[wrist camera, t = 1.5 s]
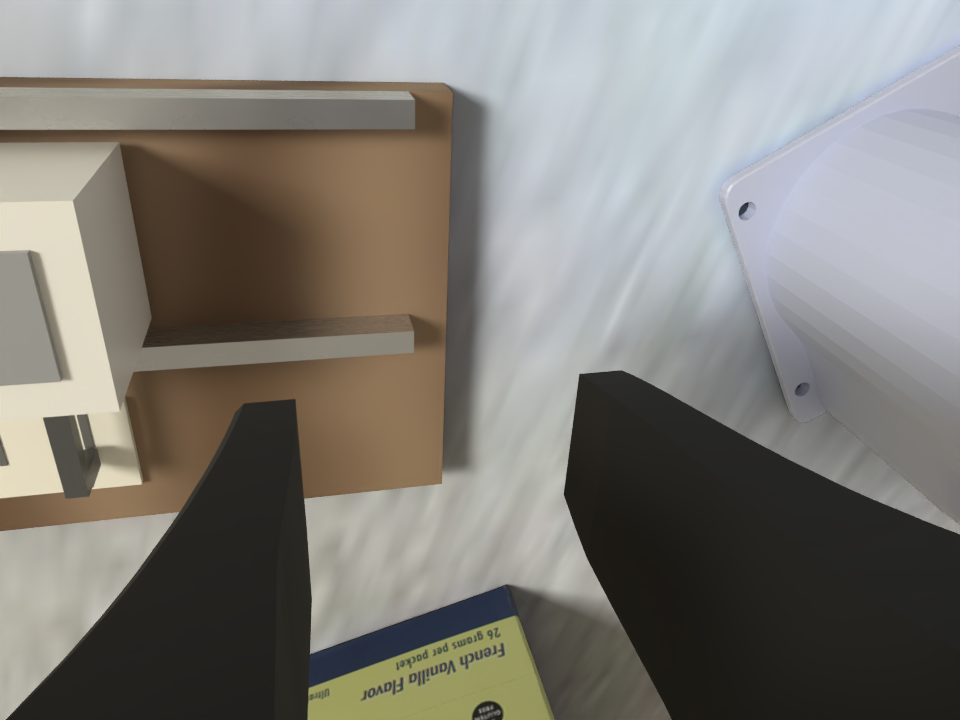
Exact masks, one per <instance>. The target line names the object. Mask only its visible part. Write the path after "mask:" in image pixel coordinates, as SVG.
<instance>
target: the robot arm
mask: <svg viewBox="0 0 960 720" xmlns="http://www.w3.org/2000/svg"><path fill="white" fill-rule="evenodd" d="M719 197H720V203H721V206H722V209H723V212H724V215H725V218H726V221H727V224H728V227H729V230H730V233H731V237H732V240H733V243H734V246H735V249H736V252H737V255H738V258H739V261H740V264H741V267H742V270H743V273H744V276H745V279H746V282H747V285H748V288H749V291H750V294H751V297H752V300H753V303H754V306H755V309H756V312H757V316H758V319H759V322H760V325H761V328H762V331H763V334H764V337H765V340H766V343H767V346H768V349H769V352H770V355H771V358H772V361H773V364H774V367H775V370H776V373H777V376H778V379H779V382H780V385H781V388H782V392H783V395H784V398H785V401H786V404H787V407H788V410H789V413H790V414H791V416H792V417H794V418H795V419H796V420H797V421H799V422H808V421H810V420H812V419H814V418H816V417H818V416H820V415H821V414H823V413H825V412H827V411H828V412H829V413H830V414H831V415H832V416H833V417H834V418H836V419H837V420H838V421H839V422H840V423H841V424H842V425H844V426H845V427H846V428H847V429H848V430H849V431H850V432H852V433H853V434H854V435H855V436H856V437H857V438H858V439H860V440H861V441H862V442H863V443H864V444H865V445H867V446H868V447H869V448H870V449H871V450H872V451H873V452H875V453H876V454H877V455H878V456H879V457H880V458H881V459H883V460H884V461H885V462H886V463H887V464H888V465H889V466H891V467H892V468H893V469H894V470H895V471H896V472H897V473H899V474H900V475H901V476H902V477H903V478H904V479H906V480H907V481H908V482H909V483H910V484H911V485H912V486H914V487H915V488H916V489H917V490H918V491H919V492H920V493H922V494H923V495H924V496H925V497H926V498H927V499H928V500H930V501H931V502H932V503H933V504H934V505H935V506H936V507H938V508H939V509H940V510H941V511H942V512H943V513H944V514H946V515H947V516H948V517H950V518H951V519H952V520H954V521H955V522H957V523H958V524H960V45H959V46H957V47H955V48H954V49H952V50H950V51H948V52H947V53H945V54H943V55H942V56H940V57H938V58H936V59H935V60H933V61H931V62H929V63H928V64H926V65H924V66H922V67H921V68H919V69H917V70H916V71H914V72H912V73H910V74H909V75H907V76H905V77H903V78H902V79H900V80H898V81H896V82H895V83H893V84H891V85H890V86H888V87H886V88H884V89H883V90H881V91H879V92H877V93H876V94H874V95H872V96H870V97H869V98H867V99H865V100H863V101H862V102H860V103H858V104H857V105H855V106H853V107H851V108H850V109H848V110H846V111H844V112H843V113H841V114H839V115H837V116H836V117H834V118H832V119H831V120H829V121H827V122H825V123H824V124H822V125H820V126H818V127H817V128H815V129H813V130H811V131H810V132H808V133H806V134H804V135H803V136H801V137H799V138H798V139H796V140H794V141H792V142H791V143H789V144H787V145H785V146H784V147H782V148H780V149H778V150H777V151H775V152H773V153H772V154H770V155H768V156H766V157H765V158H763V159H761V160H759V161H758V162H756V163H754V164H752V165H751V166H749V167H747V168H745V169H744V170H742V171H740V172H739V173H737V174H735V175H733V176H732V177H730V178H729V179H728V180H727V181H725V183H724V184H723V186H722V187H721V190H720V194H719ZM747 202H748V208H747V211H746V212H745V213H744V214H743V215H740V216H739V209H740V207H741V206H742V205H743V204H744V203H747ZM801 383H802V384H801ZM800 384H801V386H800V387H799V388H798V389H796V388H797V386H798V385H800ZM795 389H796V390H795ZM564 496H565V499H566V502H567V505H568V508H569V511H570V513H571V516H572V519H573V522H574V525H575V528H576V531H577V533H578V536H579V538H580V541H581V544H582V546H583V549H584V551H585V554H586V557H587V559H588V561H589V563H590V565H591V567H592V569H593V571H594V573H595V575H596V576H597V578H598V580H599V582H600V584H601V586H602V588H603V590H604V592H605V594H606V595H607V597H608V599H609V601H610V603H611V605H612V607H613V609H614V611H615V613H616V614H617V616H618V618H619V620H620V622H621V624H622V626H623V627H624V629H625V631H626V633H627V635H628V637H629V639H630V641H631V642H632V644H633V646H634V648H635V650H636V652H637V654H638V655H639V657H640V659H641V661H642V663H643V665H644V667H645V668H646V670H647V672H648V674H649V676H650V678H651V680H652V682H653V683H654V685H655V687H656V689H657V691H658V693H659V695H660V696H661V698H662V700H663V702H664V704H665V706H666V708H667V710H668V712H669V714H670V717H671V719H672V720H960V534H957V533H954V532H952V531H949V530H946V529H944V528H941V527H938V526H936V525H933V524H931V523H928V522H926V521H923V520H921V519H919V518H916V517H914V516H911V515H909V514H906V513H904V512H902V511H899V510H897V509H894V508H892V507H890V506H887V505H885V504H882V503H880V502H877V501H875V500H873V499H870V498H868V497H866V496H863V495H861V494H859V493H857V492H855V491H852V490H850V489H848V488H846V487H844V486H841V485H839V484H837V483H835V482H833V481H831V480H829V479H827V478H825V477H823V476H821V475H819V474H817V473H815V472H813V471H811V470H809V469H807V468H804V467H802V466H800V465H798V464H796V463H794V462H792V461H790V460H788V459H786V458H784V457H782V456H781V455H779V454H777V453H775V452H773V451H771V450H769V449H767V448H765V447H763V446H761V445H760V444H758V443H756V442H754V441H752V440H750V439H748V438H747V437H745V436H743V435H741V434H739V433H737V432H736V431H734V430H732V429H730V428H728V427H727V426H725V425H723V424H721V423H719V422H718V421H716V420H714V419H712V418H710V417H709V416H707V415H705V414H703V413H702V412H700V411H698V410H696V409H694V408H693V407H691V406H689V405H687V404H686V403H684V402H682V401H680V400H678V399H677V398H675V397H673V396H671V395H670V394H668V393H666V392H664V391H662V390H660V389H659V388H657V387H655V386H653V385H651V384H649V383H647V382H645V381H643V380H641V379H639V378H637V377H635V376H633V375H631V374H629V373H626V372H624V371H622V370H621V371H610V372H598V373H587V374H580V375H579V382H578V390H577V398H576V405H575V413H574V421H573V428H572V436H571V444H570V451H569V459H568V467H567V474H566V482H565V490H564ZM311 603H312V597H311V583H310V569H309V555H308V541H307V527H306V516H305V504H304V492H303V481H302V469H301V458H300V446H299V434H298V423H297V411H296V400H295V399H289V400H277V401H266V402H254V403H244V404H243V405H242V406H241V407H240V408H239V409H238V410H237V411H236V412H235V414H234V416H233V419H232V421H231V423H230V426H229V428H228V430H227V432H226V434H225V436H224V438H223V440H222V442H221V444H220V446H219V448H218V450H217V451H216V453H215V455H214V457H213V458H212V460H211V462H210V464H209V466H208V467H207V469H206V471H205V473H204V474H203V476H202V477H201V479H200V481H199V482H198V484H197V485H196V487H195V489H194V490H193V492H192V493H191V495H190V497H189V498H188V500H187V501H186V503H185V505H184V506H183V508H182V509H181V511H180V513H179V514H178V516H177V517H176V519H175V520H174V522H173V523H172V524H171V526H170V527H169V529H168V530H167V531H166V533H165V534H164V535H163V537H162V538H161V540H160V541H159V542H158V544H157V545H156V547H155V548H154V549H153V551H152V552H151V553H150V555H149V556H148V558H147V559H146V560H145V562H144V563H143V564H142V566H141V567H140V569H139V570H138V571H137V573H136V574H135V575H134V577H133V578H132V579H131V581H130V582H129V583H128V584H127V586H126V587H125V588H124V589H123V591H122V592H121V593H120V594H119V596H118V597H117V598H116V599H115V601H114V602H113V603H112V604H111V605H110V607H109V608H108V609H107V610H106V611H105V613H104V614H103V615H102V616H101V617H100V619H99V620H98V621H97V622H96V623H95V624H94V626H93V627H92V628H91V629H90V630H89V631H88V632H87V634H86V635H85V636H84V637H83V638H82V639H81V640H80V642H79V643H78V644H77V645H76V646H75V647H74V648H73V650H72V651H71V652H70V653H69V654H68V655H67V656H66V657H65V658H64V659H63V661H62V662H61V663H60V664H59V665H58V666H57V667H56V668H55V669H54V670H53V671H52V672H51V673H50V674H49V675H48V676H47V677H46V678H45V679H44V680H43V681H42V683H41V684H40V685H39V686H38V687H37V688H36V689H35V690H34V691H33V692H32V693H31V694H30V695H29V696H28V697H27V698H26V699H25V700H24V701H23V702H22V703H21V705H20V706H19V707H18V708H17V709H16V710H15V711H14V712H13V713H12V714H11V715H10V716H9V717H8V718H7V719H6V720H308V692H309V663H310V634H311Z"/></svg>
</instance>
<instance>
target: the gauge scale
mask: <svg viewBox="0 0 960 720" xmlns="http://www.w3.org/2000/svg"><path fill="white" fill-rule="evenodd" d="M75 419H76V423H77V426H78V430H79V434H80V438H81V442H82V446H83V450H85V449H96V448H97V450H98V454H99V458H100V462H101V467H100V470H99V472H98V475H97V478H96V481H95V484H94V487H93V488H92V489H100V488H111V487H121V486H131V485H141V484H142V482H143V476H142V472H141V467H140V463H139V458H138V453H137V449H136V444H135V439H134V435H133V430H132V426H131V421H130V416H129V412H128V407H127V403H126V398H124V401H123V404H122V407H121V410H120V412H107V413H94V414H81V415H75ZM60 492H64V491H63V487H62V484H61V480H60V477H59V473H58V470H57V466H56V463H55V459H54V456H53V452H52V449H51V445H50V442H49V438H48V435H47V431H46V428H45V424H44V421H43V418H30V419H17V420H4V421H0V498H9V497H19V496H29V495H40V494H50V493H60Z"/></svg>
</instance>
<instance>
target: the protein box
mask: <svg viewBox="0 0 960 720" xmlns="http://www.w3.org/2000/svg"><path fill="white" fill-rule="evenodd" d="M308 720H555V718H554V716H553V713H552V710H551V707H550V704H549V701H548V699H547V696H546V693H545V690H544V687H543V684H542V682H541V679H540V676H539V673H538V670H537V668H536V665H535V662H534V659H533V656H532V653H531V651H530V648H529V645H528V642H527V639H526V636H525V633H524V630H523V627H522V624H521V621H520V618H519V615H518V612H517V609H516V606H515V603H514V601H513V598H512V595H511V592H510V590H509V588H508V587H507V586H502V587H500V588H498V589H495V590H492V591H489V592H487V593H484V594H481V595H478V596H475V597H472V598H470V599H467V600H464V601H461V602H458V603H455V604H453V605H450V606H447V607H444V608H441V609H439V610H436V611H433V612H430V613H428V614H425V615H422V616H419V617H416V618H414V619H411V620H408V621H405V622H402V623H400V624H397V625H394V626H391V627H388V628H385V629H382V630H379V631H377V632H374V633H372V634H368V635H365V636H362V637H359V638H356V639H354V640H351V641H348V642H345V643H343V644H340V645H337V646H334V647H331V648H328V649H325V650H322V651H320V652H317V653H314V654H311V655H310V663H309V692H308Z"/></svg>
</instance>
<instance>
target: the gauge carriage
mask: <svg viewBox="0 0 960 720" xmlns="http://www.w3.org/2000/svg"><path fill="white" fill-rule="evenodd" d="M151 319H152V316H151V311H150V305H149V300H148V295H147V289H146V284H145V278H144V273H143V268H142V262H141V257H140V251H139V246H138V241H137V235H136V230H135V224H134V219H133V214H132V208H131V203H130V197H129V192H128V186H127V181H126V176H125V170H124V165H123V159H122V154H121V149H120V143H119V142H39V143H0V421H4V420H17V419H30V418H43V421H44V424H45V428H46V431H47V435H48V438H49V442H50V445H51V449H52V452H53V456H54V459H55V463H56V466H57V470H58V473H59V477H60V480H61V484H62V487H63V491H64V495H65V498H66V499H70V498H80V497H89V496H90V493H91V490H92V488H93V487H94V484H95V481H96V478H97V475H98V472H99V470H100V467H101V462H100V458H99V454H98V450H97V448H96V449H85V450H83V446H82V442H81V438H80V434H79V430H78V426H77V423H76V419H75V415H81V414H94V413H107V412H120V410H121V407H122V404H123V401H124V398H125V395H126V392H127V389H128V386H129V383H130V380H131V377H132V374H133V371H134V369H135V366H136V363H137V360H138V357H139V354H140V351H141V348H142V345H143V342H144V339H145V336H146V333H147V330H148V328H149V325H150V322H151Z"/></svg>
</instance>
